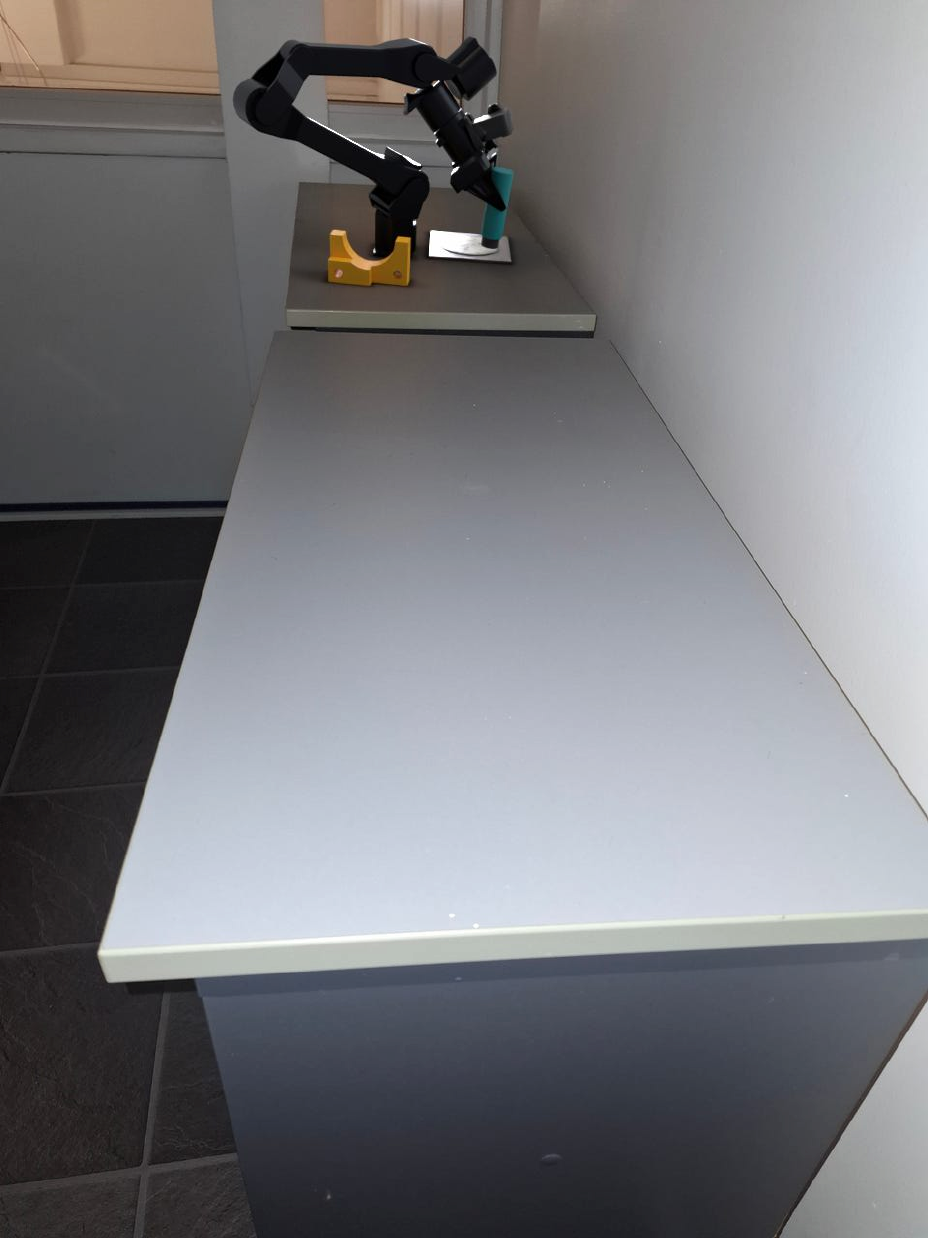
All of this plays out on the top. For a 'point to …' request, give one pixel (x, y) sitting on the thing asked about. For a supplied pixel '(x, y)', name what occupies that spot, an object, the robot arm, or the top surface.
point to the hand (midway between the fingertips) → (505, 206)
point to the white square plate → (467, 248)
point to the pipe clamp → (367, 263)
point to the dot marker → (492, 216)
